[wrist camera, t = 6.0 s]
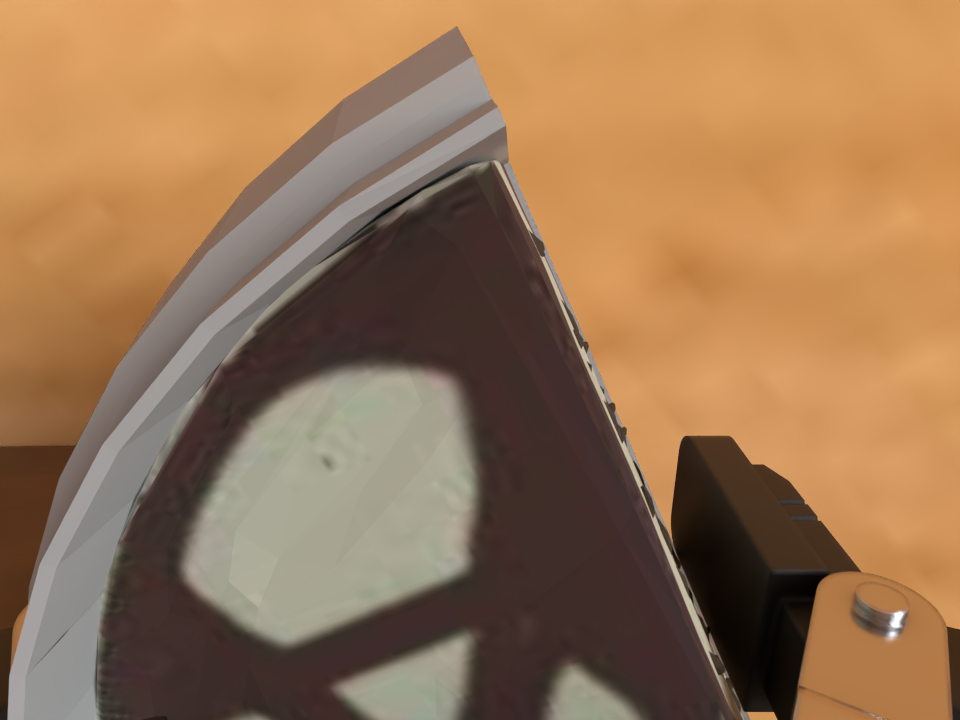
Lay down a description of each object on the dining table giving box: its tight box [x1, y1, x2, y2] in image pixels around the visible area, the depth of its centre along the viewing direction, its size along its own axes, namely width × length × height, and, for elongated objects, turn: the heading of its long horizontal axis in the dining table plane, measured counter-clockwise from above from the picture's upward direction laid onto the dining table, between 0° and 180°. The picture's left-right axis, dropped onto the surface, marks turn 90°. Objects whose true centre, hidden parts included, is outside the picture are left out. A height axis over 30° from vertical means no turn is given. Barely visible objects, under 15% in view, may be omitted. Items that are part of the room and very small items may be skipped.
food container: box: [8, 26, 750, 720], centre depth 10 cm, size 12×6×10 cm, turn 25°
